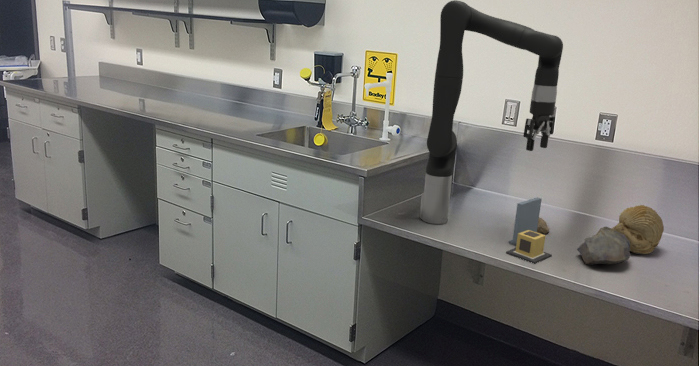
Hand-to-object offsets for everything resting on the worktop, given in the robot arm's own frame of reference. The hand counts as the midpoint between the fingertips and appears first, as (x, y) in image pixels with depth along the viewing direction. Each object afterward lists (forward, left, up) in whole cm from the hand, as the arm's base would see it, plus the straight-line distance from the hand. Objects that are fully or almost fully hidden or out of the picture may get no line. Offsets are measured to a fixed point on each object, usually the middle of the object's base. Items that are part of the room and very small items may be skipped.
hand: (536, 149), depth 190 cm
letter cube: (+11, -14, -29) cm, 34 cm away
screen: (+3, -5, -30) cm, 31 cm away
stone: (+27, 0, -30) cm, 41 cm away
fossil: (+28, +20, -30) cm, 46 cm away
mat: (+11, -14, -30) cm, 35 cm away
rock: (-1, +9, -31) cm, 32 cm away
